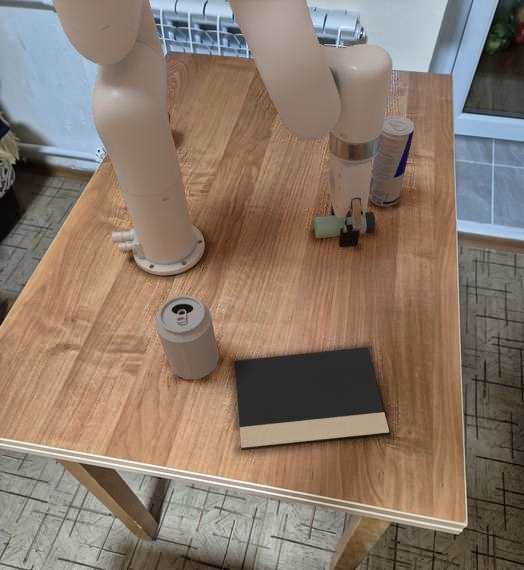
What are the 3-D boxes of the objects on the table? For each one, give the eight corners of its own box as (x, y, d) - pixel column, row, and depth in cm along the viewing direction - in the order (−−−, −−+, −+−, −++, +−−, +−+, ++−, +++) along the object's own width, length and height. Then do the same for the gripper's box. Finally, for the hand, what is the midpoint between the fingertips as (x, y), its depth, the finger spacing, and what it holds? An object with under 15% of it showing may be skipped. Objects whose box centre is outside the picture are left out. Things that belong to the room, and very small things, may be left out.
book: (241, 449, 69) (241, 447, 68) (234, 362, 77) (234, 360, 76) (388, 434, 69) (389, 432, 69) (367, 349, 77) (367, 346, 76)
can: (220, 339, 79) (210, 288, 69) (219, 381, 75) (208, 333, 65) (171, 341, 79) (155, 291, 69) (168, 383, 75) (150, 336, 65)
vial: (317, 242, 90) (317, 226, 87) (313, 228, 92) (314, 212, 89) (373, 237, 90) (376, 221, 87) (369, 223, 92) (371, 207, 89)
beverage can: (397, 209, 94) (414, 135, 81) (366, 206, 94) (378, 133, 82) (399, 190, 97) (415, 115, 84) (369, 187, 97) (381, 113, 85)
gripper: (320, 109, 80) (315, 199, 95) (339, 179, 71) (331, 268, 85) (367, 104, 81) (355, 195, 95) (393, 174, 71) (375, 263, 86)
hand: (344, 229), depth 90 cm, fingers open, 7 cm apart
